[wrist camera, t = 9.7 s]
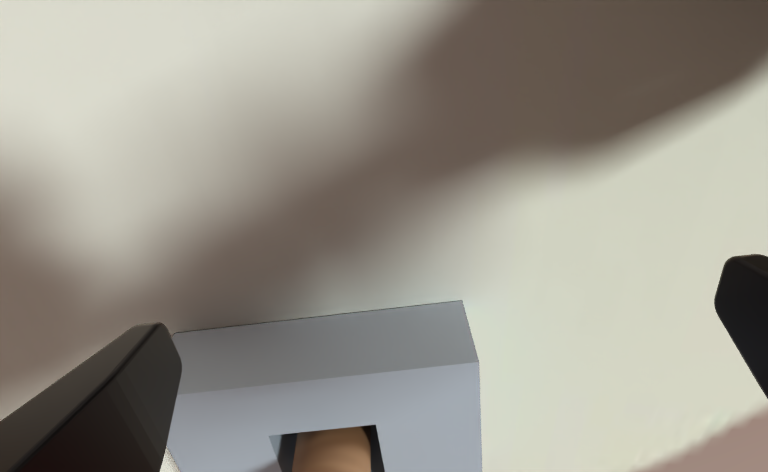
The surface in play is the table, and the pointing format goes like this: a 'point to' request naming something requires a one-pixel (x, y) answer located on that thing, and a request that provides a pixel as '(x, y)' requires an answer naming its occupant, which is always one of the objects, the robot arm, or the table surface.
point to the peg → (333, 450)
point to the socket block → (331, 390)
